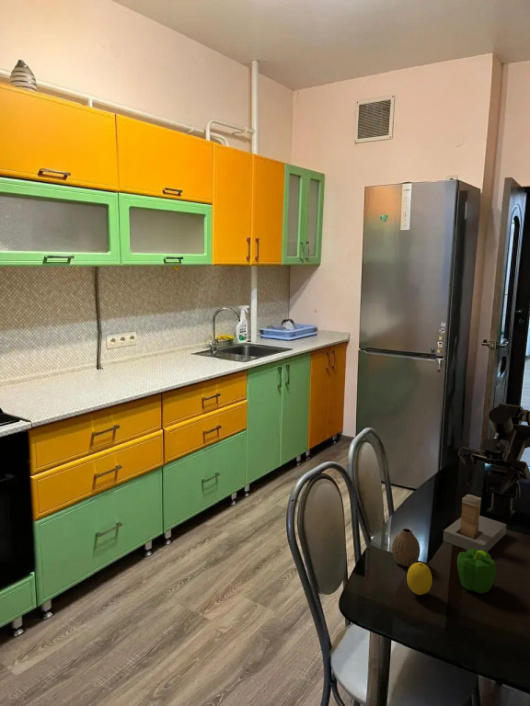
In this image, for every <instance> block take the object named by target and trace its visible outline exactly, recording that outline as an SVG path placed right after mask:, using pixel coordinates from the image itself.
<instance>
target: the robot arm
mask: <svg viewBox="0 0 530 706" xmlns="http://www.w3.org/2000/svg"><path fill="white" fill-rule="evenodd" d="M488 418H489V423H490V425H491V429H492V431H493V432H492V434H491V437H488V438H485V437H481V440H480V443H479V448H478V449H480V450H481V453H482V454H483V455H481V454H477V452H476V450H475V449H474V448H470V447H466V446H461V447H460V448H459V450H458V451H457V455H458V457H459V459H460V460H461V462H462V463H463V464H464V465H465V483H466V485H469V484H470V482H471V480H472V477H473V475H474V473H475V471H476V468H477V467H476V464H477V463H483V464H485V465H489V466H490V465H491V466H492V468H491V469H490V472H489V473H488V472H487V474H486V479H485V487H486V493H489V494H491V495H492V496H491V504H490V505H491V506H490V507H489V508H488V509H486V512H487V513H489V514H492V515H495V516H499V517H501V518H505V519H510V518H511V517H512V516H513V515H515V513H516V510H515V509H513V500H516V499H520V498H521V487H520V483H519V481H520V482H522V481H523V480H529V478H530V468H529V465H528V463H527V462H526V461H523V460H521V459H522V456H523V454H524V452H525V450H526V449H528V448H530V410H529V409H524V408H523V407H522V406H521V405H514V404H507V403H502V402H501V403H499V404H498V405H497V406H495V407H494V408H492V409H491V410H490V411H489V412H488ZM523 422H524V423H526V424H527V425H526V424H523Z"/></svg>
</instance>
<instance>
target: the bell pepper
mask: <svg viewBox="0 0 530 706" xmlns="http://www.w3.org/2000/svg"><path fill="white" fill-rule="evenodd" d="M456 561H457V562H456V565H457V572H458V577H459V581H460V584H461V586H462V587H463V588H464V589H466V590H468V591H474V592H475V593H478V594H485V593H488V592H489V591H490V590H491V589H492V586H493V584H494V581H495V579H496V576H497V565H496V562H495V560H494V559H492V556H491V555H490V553H489V551H488V552H484V551H482V550H479V551H478V550H475V549H473V548H472V549H469V550H466V552H463V551H461V552H459V554H458V555H457V559H456Z"/></svg>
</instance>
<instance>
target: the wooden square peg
mask: <svg viewBox="0 0 530 706" xmlns="http://www.w3.org/2000/svg"><path fill="white" fill-rule="evenodd" d="M481 502H482V498H481V497H479V496H475V495H472V494H469V493H468V494H466V495H465V496H464V497H462V499H461V503H462V504H461V515H460V516H461V517H460V518H461V529H460V534H461V535H464V536H466V537H469V538H472V539H475V540H476V539H477V538H478V529H479V516H481V515H480V513H481Z"/></svg>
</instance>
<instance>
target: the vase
mask: <svg viewBox="0 0 530 706" xmlns="http://www.w3.org/2000/svg"><path fill="white" fill-rule="evenodd" d="M391 553H392V557H393V559H394V561H396V563H397V564H398V565H400V566H402V567H407V568H409V567H410V566H411V565H412V564H414V563H418V561H419V559H420V556H421V555H420V554H421V546H420V543H419V540H418V539H417V537H416V536H415V535H414V533H413V531H412V529H410V528H407V527H405V528H402V529H401V531H400V532H399V533H398V534H397V535H396V536H395V537H394V539H393V542H392V544H391Z"/></svg>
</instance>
